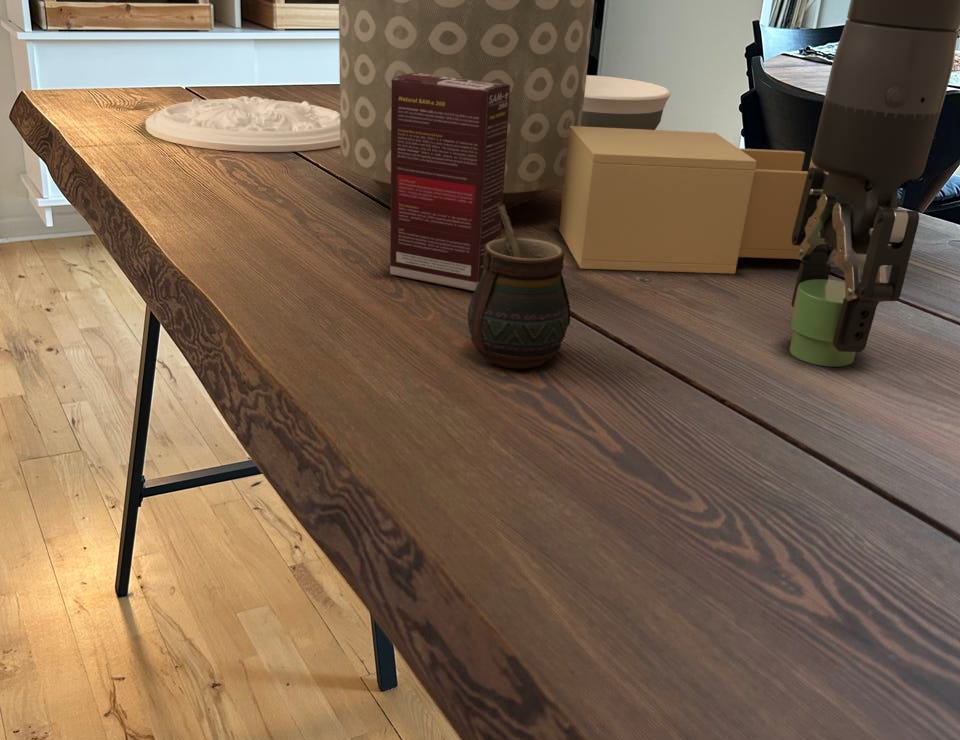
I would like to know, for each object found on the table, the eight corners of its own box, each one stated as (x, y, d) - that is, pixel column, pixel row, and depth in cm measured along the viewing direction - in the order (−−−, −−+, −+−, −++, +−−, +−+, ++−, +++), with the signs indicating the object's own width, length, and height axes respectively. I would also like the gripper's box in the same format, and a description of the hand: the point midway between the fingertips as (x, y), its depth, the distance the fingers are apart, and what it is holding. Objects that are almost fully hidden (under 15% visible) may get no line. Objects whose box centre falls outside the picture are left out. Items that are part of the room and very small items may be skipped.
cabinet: (698, 235, 106) (716, 132, 101) (735, 273, 95) (757, 160, 90) (558, 230, 104) (569, 125, 99) (580, 268, 94) (593, 153, 88)
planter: (493, 250, 97) (512, -38, 84) (291, 201, 108) (282, -61, 95) (611, 203, 115) (641, -39, 103) (429, 165, 126) (436, -58, 114)
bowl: (497, 142, 141) (501, 77, 137) (590, 131, 152) (596, 71, 148) (597, 170, 130) (605, 101, 125) (689, 156, 141) (700, 92, 136)
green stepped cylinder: (842, 342, 81) (858, 280, 79) (871, 369, 76) (889, 305, 74) (773, 340, 80) (787, 277, 78) (798, 368, 76) (814, 302, 73)
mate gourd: (505, 385, 70) (516, 238, 65) (442, 348, 75) (448, 209, 70) (585, 366, 74) (602, 225, 68) (520, 332, 79) (531, 199, 73)
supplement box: (500, 278, 89) (514, 82, 81) (476, 294, 86) (489, 89, 77) (412, 261, 92) (417, 70, 84) (386, 275, 89) (388, 76, 80)
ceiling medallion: (262, 162, 122) (261, 134, 121) (99, 126, 134) (96, 100, 132) (399, 132, 143) (400, 108, 141) (248, 103, 155) (246, 80, 153)
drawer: (849, 234, 106) (869, 150, 102) (897, 268, 97) (921, 177, 93) (678, 227, 105) (692, 142, 100) (709, 261, 95) (726, 168, 91)
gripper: (989, 121, 63) (914, 367, 72) (890, 86, 75) (836, 299, 84) (873, 114, 63) (811, 364, 71) (792, 80, 75) (747, 296, 83)
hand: (825, 329), depth 77 cm, fingers open, 8 cm apart
